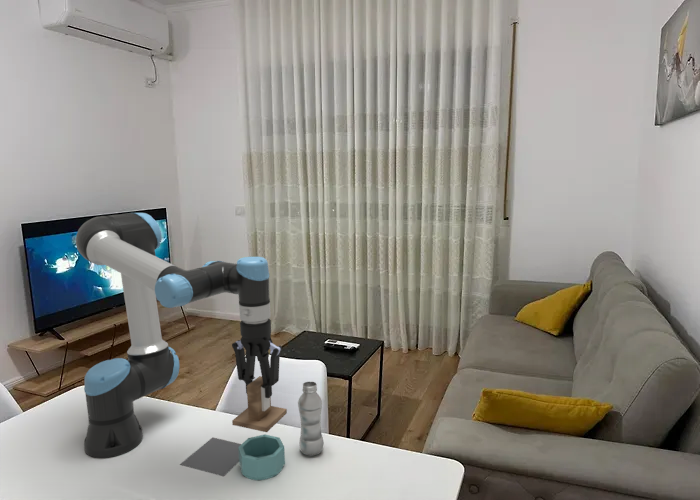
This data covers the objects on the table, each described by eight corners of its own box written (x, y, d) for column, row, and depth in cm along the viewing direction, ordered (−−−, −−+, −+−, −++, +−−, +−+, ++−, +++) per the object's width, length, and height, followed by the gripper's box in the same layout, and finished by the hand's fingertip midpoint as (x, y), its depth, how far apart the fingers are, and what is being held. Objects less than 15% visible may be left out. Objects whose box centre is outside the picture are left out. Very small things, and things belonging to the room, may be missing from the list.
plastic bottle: (320, 460, 133) (318, 390, 130) (296, 457, 134) (294, 388, 131) (326, 446, 139) (325, 380, 136) (303, 444, 141) (301, 378, 137)
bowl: (232, 475, 127) (231, 453, 126) (255, 451, 137) (254, 432, 136) (269, 485, 123) (268, 463, 122) (290, 460, 133) (290, 439, 132)
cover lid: (232, 424, 125) (230, 387, 123) (254, 406, 134) (252, 371, 132) (266, 432, 121) (265, 393, 119) (286, 413, 130) (285, 376, 129)
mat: (179, 465, 131) (179, 464, 131) (212, 438, 144) (212, 437, 144) (223, 477, 126) (223, 476, 126) (253, 448, 139) (253, 447, 139)
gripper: (219, 320, 122) (224, 408, 127) (276, 327, 117) (279, 420, 121) (236, 312, 129) (241, 395, 133) (291, 318, 123) (294, 406, 128)
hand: (259, 407), depth 127 cm, fingers closed on cover lid, 3 cm apart
